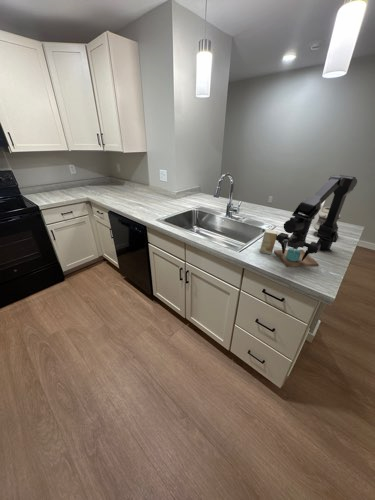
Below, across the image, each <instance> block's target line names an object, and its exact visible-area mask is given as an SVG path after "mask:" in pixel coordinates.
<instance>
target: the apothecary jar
mask: <svg viewBox="0 0 375 500" xmlns="http://www.w3.org/2000/svg"><path fill="white" fill-rule="evenodd" d="M329 209H330V206H325V207H324V206H323V208H322V210H321V211H319V213H318V215H319V219H318V221H317V223H315V224H314V225H313V229H314V230H315V231H314V232H313V233H312V235H313V236H314V237H316V238H318V239H319V237H317V231H318V229H319V226H320V225H322V224H323V223H324V222H325V221H326V218H327V215H328V212H329ZM341 217H342V215H341V213H340V214H339V217H338V220H340V219H341Z"/></svg>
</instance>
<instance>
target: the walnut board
mask: <svg viewBox="0 0 375 500" xmlns="http://www.w3.org/2000/svg"><path fill="white" fill-rule="evenodd" d="M298 250H299V251H301V254H300V257H299V260H298V261H296V262H292V261H289V260H287V258H286V255H287V252H288V249H286V250H285V253H284V254H283V253H282V249H279V250H278V249H277V250H276V249H273V253H274V254H275V255H276V257H277V258H278V259H279V260H280V261H281V262H282V263H283V264H284V265H285V266H286V267H287V268H288V267H290V268H291V267H319V265H320V264H319V263H318V262H317V261H316V260H315V259H314V258H313V257H311V256H310V254H308V255H307V256H306V257H305V259H304V260H303V261H302V258H303V256H304V254H305V252H306V251H304V249H298Z"/></svg>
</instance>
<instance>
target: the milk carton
mask: <svg viewBox="0 0 375 500" xmlns="http://www.w3.org/2000/svg"><path fill="white" fill-rule="evenodd" d="M325 202H326V200H325V201H324V202H323V203H322V204H321V209H320V210H319V211H321V210H322V209H323V208H324V205H325ZM318 213H319V212H318ZM318 213H317V214H316V216H315V219H312V222H311V225H313V226H314V224H315V223H317V222H318V219H319V215H318Z"/></svg>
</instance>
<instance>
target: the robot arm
mask: <svg viewBox="0 0 375 500" xmlns="http://www.w3.org/2000/svg"><path fill="white" fill-rule="evenodd" d="M357 184H358V179H357V178H356V176H351V175H344V174H343V175H342V174H339V175H336V174H335V175H331V176H330V177H329V178H328V180H327V181H326V182H325V183H324V184H323V185H322V186H321V187H320V188H319V189H318V190H317V191H316V192H315V193H314V194H313V195H312V196H309V197H306V198H305V199H304V200H301V202H300V203H299V204H298V206H297V207H296V208H295V210H294V211H293V213H292V214H291V216H292V217H290V218H289V220H287V221H285V222H284V223H283V229H284V231H285V233H284V232H279V234H277V237H276V241H277V242H278V243H279V245H281V246H280V247H281V250H282V253H283V254H284V253H285V250H287V247H288V248H294V249H297V250H299V248H304V247H305V248H306V250H305V251H304V252H305V254H304V256H303V258H302V261H303V260H304V259H305V257H306V256H307V255H310V254H311V255H313V254H318V252H319V251H320V252H332V251H333V249H331V247H332V244H333V243H336V242H337V241H338V240H339V233H338V230H339V227H338V224H337V222H338V220H339V219H338V217H339V214H340V215H341V211H342V209H343V206H344V203H345V202H346V201H345V200H346V198H347V196H348V195H349V194H350V193H351V192H352V191H353V190H354V188H355V187H356V186H357ZM332 194H333V198H332V201H331V204H330V206H329V207H330V209H329V212H328V215H327V218H326V221H325V222H324V223H323V224H322V225H320V226H319V229H318V231H316V232H317V237H316V238H318V237H319V238H318V240H317V241H316V242H314V241H311V243H309V242H307V241H306V239H307V236H308V234H309V230H310V227H311V225H312V224H311V222H312V219H315V216H316V214H317V213H318V212H319V210H320V209H321V204H322V203H323V202H324V201H325V202H326V200H327V199H328V198H329V197H330V196H331V195H332ZM325 202H324V203H325ZM289 234H291V235H289Z"/></svg>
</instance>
